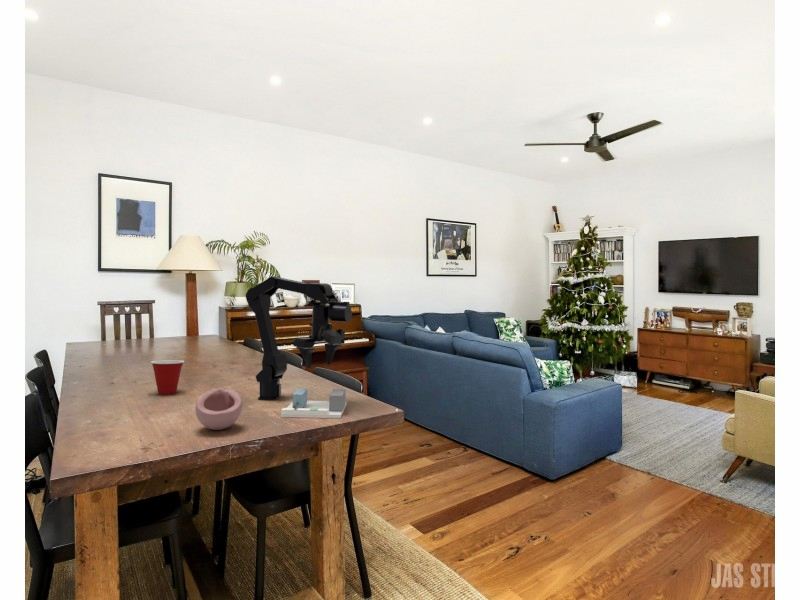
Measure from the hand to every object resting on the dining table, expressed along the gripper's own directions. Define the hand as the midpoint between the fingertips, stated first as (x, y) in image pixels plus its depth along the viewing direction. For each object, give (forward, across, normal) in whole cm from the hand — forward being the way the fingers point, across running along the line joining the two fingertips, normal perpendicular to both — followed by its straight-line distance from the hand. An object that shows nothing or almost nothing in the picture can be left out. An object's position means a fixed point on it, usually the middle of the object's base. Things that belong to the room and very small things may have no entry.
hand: (319, 366), depth 154 cm
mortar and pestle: (+13, -36, 0) cm, 39 cm away
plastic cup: (+14, -25, +51) cm, 59 cm away
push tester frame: (+13, -7, -6) cm, 16 cm away
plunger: (+11, -11, -3) cm, 16 cm away
